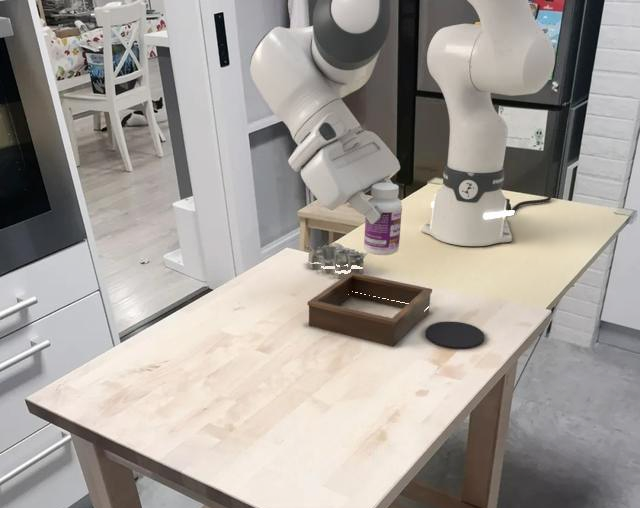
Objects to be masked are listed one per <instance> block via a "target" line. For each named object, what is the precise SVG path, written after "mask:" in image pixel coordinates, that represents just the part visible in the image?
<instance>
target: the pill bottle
mask: <svg viewBox="0 0 640 508" xmlns="http://www.w3.org/2000/svg"><path fill="white" fill-rule="evenodd" d="M392 183H393V182H392ZM392 183H376V184H373V185H372V187H371V190H370V194H371V197H370V198H369V199H367V200H368V201H369V202H370V203H371V204H372V205H373V206H374V207H375V206H378V208H379V209H380V211H381V212H382V213H383V216H382V218H380V219H379V220H378V221H377V222H375V223H374V224H371V223H370V222H369V221H368V220H367V218H366V217H365V216H364V217H365V219H364V239H363V241H364V242H363V249H364V251H366V253H368V254H371V255H376V256H390V255H394V254H396V253H398V251H399V250H400V249H399V248H400V239H401V227H402V226H401V224H402V213H403V204H402V201H401V200H400V199H399V200H400V201H401V202H400V201H399V200H398V199H397V197H398V196H399V194H400V193H399V192H400V191H399V190H400V189H399V188H400V187H399V185H398V184H396V183H393V184H392ZM398 198H399V197H398Z"/></svg>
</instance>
